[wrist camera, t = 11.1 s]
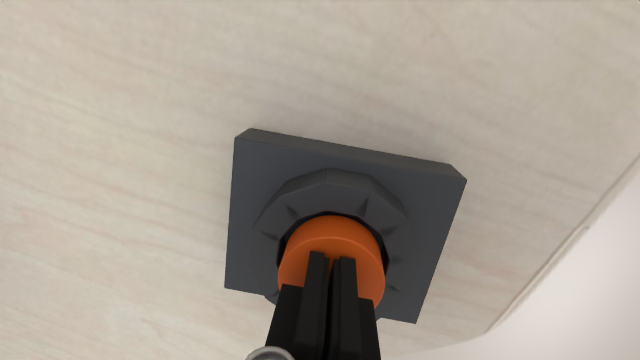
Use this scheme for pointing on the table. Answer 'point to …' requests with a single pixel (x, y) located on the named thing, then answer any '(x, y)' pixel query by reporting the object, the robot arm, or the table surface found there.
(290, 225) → the control block
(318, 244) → the button
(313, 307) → the robot arm
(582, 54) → the table surface
